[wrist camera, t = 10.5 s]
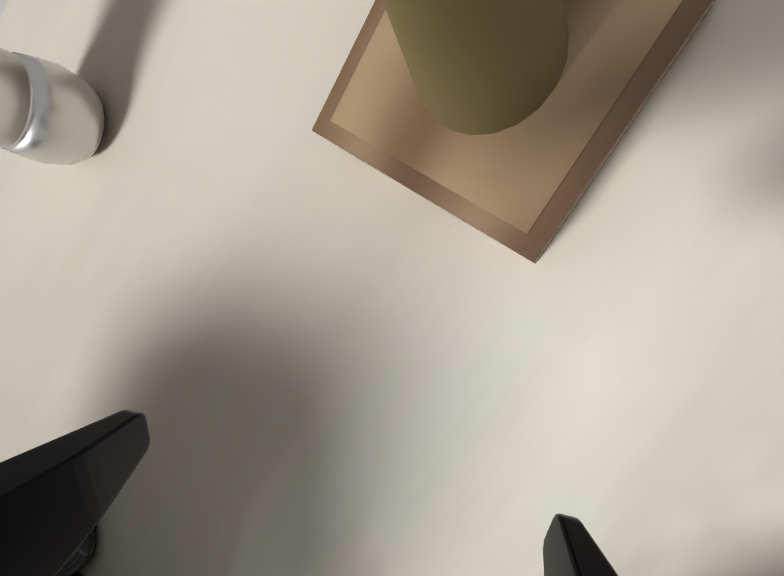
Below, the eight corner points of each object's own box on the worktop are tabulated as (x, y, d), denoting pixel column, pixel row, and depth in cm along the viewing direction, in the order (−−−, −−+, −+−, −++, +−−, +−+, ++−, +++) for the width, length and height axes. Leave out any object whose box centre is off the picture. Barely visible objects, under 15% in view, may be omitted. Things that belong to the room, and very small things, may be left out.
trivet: (711, 6, 16) (749, -55, 13) (535, 263, 18) (533, 261, 15) (458, -80, 19) (442, -143, 16) (341, 148, 22) (309, 129, 19)
